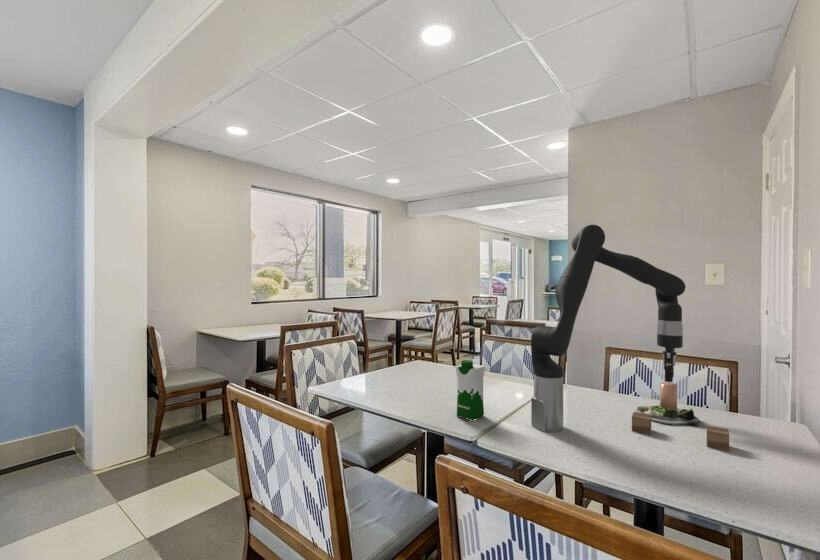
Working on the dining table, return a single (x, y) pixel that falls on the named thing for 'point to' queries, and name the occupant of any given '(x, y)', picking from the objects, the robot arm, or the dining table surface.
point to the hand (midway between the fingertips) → (669, 379)
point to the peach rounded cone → (668, 395)
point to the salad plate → (670, 415)
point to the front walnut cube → (717, 438)
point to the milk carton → (470, 390)
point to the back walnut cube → (641, 423)
